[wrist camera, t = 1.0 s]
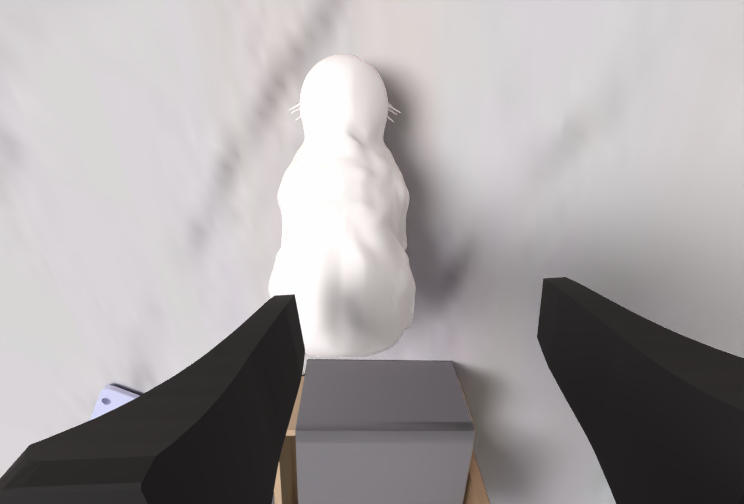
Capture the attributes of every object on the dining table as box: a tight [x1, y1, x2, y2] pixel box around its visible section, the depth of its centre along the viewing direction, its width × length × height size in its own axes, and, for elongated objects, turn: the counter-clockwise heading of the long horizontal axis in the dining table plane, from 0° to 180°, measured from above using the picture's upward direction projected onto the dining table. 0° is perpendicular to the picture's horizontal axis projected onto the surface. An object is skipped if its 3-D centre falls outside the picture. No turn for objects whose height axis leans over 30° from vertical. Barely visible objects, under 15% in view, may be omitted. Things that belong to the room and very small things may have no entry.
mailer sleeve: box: [295, 360, 476, 504], centre depth 26 cm, size 9×14×6 cm, turn 178°
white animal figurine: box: [269, 54, 416, 357], centre depth 18 cm, size 6×8×12 cm
